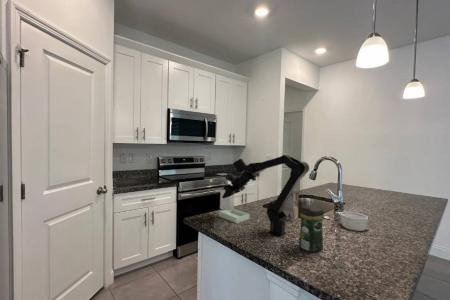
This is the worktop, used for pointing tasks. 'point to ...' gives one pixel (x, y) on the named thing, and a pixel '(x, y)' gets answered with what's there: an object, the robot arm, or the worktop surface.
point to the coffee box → (291, 206)
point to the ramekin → (354, 221)
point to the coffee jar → (311, 228)
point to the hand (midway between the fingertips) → (225, 196)
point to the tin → (226, 201)
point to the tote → (234, 215)
